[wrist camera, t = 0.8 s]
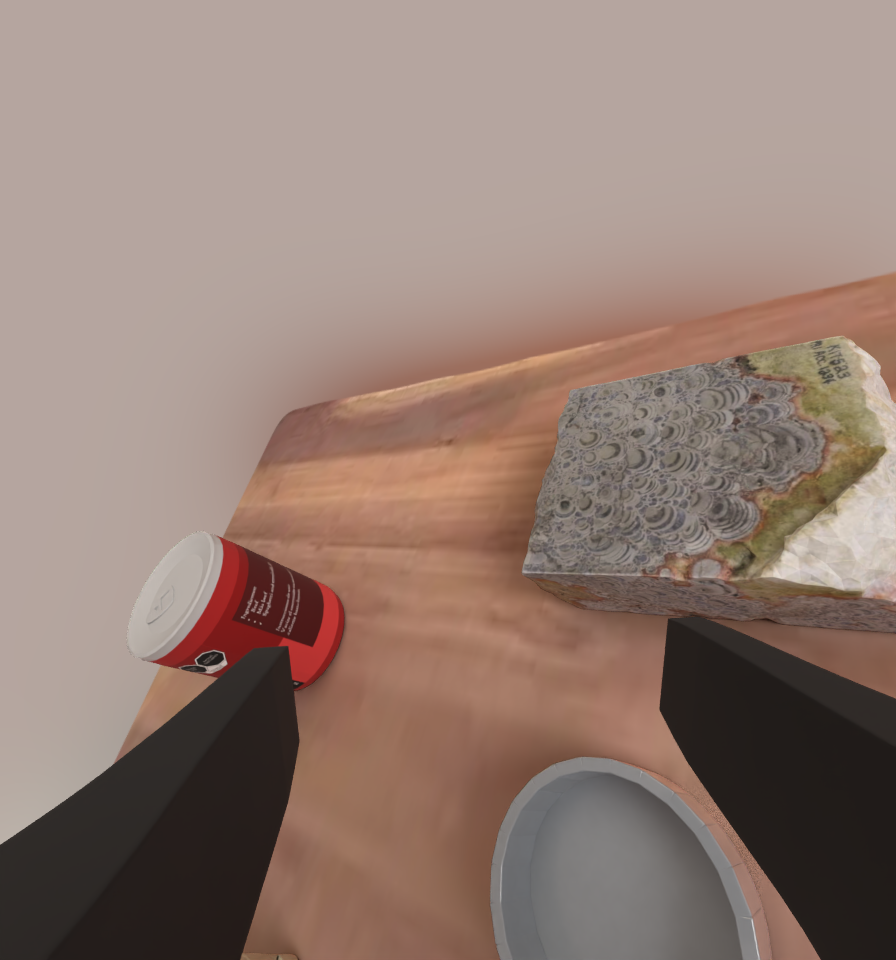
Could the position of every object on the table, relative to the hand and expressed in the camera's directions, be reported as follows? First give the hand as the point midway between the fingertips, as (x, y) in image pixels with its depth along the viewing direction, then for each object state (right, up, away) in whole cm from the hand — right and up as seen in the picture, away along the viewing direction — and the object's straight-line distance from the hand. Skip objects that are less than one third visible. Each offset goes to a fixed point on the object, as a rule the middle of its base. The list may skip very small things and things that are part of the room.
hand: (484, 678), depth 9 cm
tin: (+6, -12, +9) cm, 17 cm away
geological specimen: (+13, +2, +15) cm, 20 cm away
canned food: (-11, -8, +27) cm, 30 cm away
